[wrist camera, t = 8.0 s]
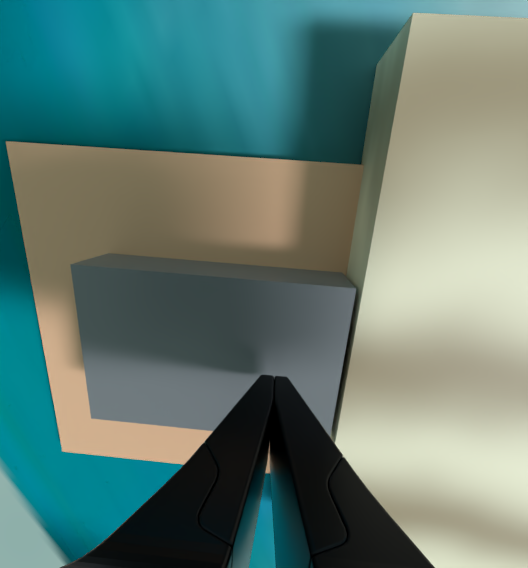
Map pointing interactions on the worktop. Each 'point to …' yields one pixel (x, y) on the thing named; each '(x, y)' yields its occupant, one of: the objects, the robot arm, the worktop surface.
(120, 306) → the grey rectangular block
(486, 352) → the cream wavy flat block
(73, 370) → the mat
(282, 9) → the worktop surface
